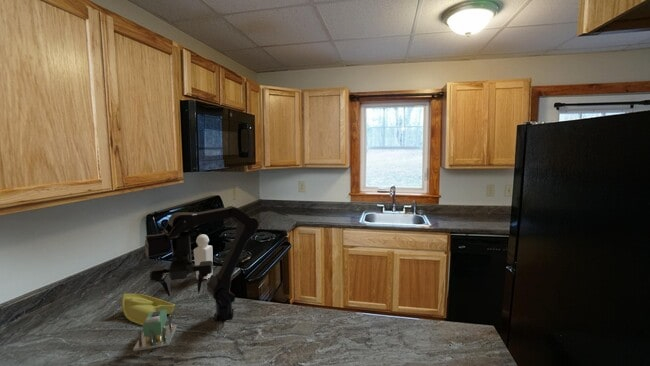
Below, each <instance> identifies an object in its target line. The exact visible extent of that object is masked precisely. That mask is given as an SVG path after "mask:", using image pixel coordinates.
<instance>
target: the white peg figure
mask: <svg viewBox="0 0 650 366" xmlns="http://www.w3.org/2000/svg"><path fill="white" fill-rule="evenodd" d="M195 242H196V245H197V247H195V248H194V249H193V257H194V266H196V265H200V262H204V261H212V263H213V260H214V259H213V258H214V257H213V256H214V255H213V245H209V242H210V239H209V236H208V235H207V234H204V233H203V234H199V235H198V236H197V237H196V240H195ZM213 264H214V263H213ZM213 270H214V269H212V273H210V274H208V275H207V276H205V277H204V278H203V279H207V280H209V279H210V277H211V275H214V271H213ZM198 275H199V271H195V277H196V280H198ZM208 278H209V279H208Z"/></svg>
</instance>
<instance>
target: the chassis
mask: <svg viewBox="0 0 650 366" xmlns="http://www.w3.org/2000/svg"><path fill="white" fill-rule="evenodd" d="M172 323H173V321H172V314H168V325H167V323H166V324H165V327H163V331H162V334H157V335H152V331H149V336H146V337H144V332H142V330H138V331H137V337H138V340H137V342H136V343H135V345H134V347H133V348H132V351H133V352H138V351H143V350H150V349H156V348H162V347H168V346H170V343H171V341H172V339H173V336H174V334H175V331H176V329H177V327H178V326H177V324H172Z"/></svg>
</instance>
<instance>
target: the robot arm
mask: <svg viewBox="0 0 650 366" xmlns="http://www.w3.org/2000/svg"><path fill="white" fill-rule="evenodd" d="M228 219H231V220H232V221H234V222H235V223H236V227H235V237H234V239H233V241H232V243H231V245H230V247H229V250H228V252H227V253H226V256H225V258H224V261H223V262H222V265H221V267H220V269H219V271H218V272H217V273H216V274H213V275H211V277H210V278H209V279H208V280H209V281H208V282H207V283H206V286H207V287H206V291H207V293H208V295H209V296H210V297H211V298H213V299H214V300H215V316H214V321H215V322H216V321H217V322H218V321H223V320H224V321H225V320H230V319H233V318H234V311H235V310H234V309H235V308H233V303H234V302H235V300H236V295H235V294H234V293H233V292H231V291H230V289H231V285H232V276H233V273H234V271H235V269H236V267H237V265H238V262H239V260H240V258H241V256H242V253H243V252H244V249H245V247H246V245H247V242H248V241H249V240H250V239H251V238H252V237H253V236H254V235H255V234H256V232H257V230H258V228H259V227H260V226H259V225H260V224H259V221H258V219H256V218H255V217H252V216H249V215H248V214H246V213H244V212H243V211H241V210H240V209H239V208H238V207H236V206H233V205H229V206H227V207H221V208H214V209H210V210H205V211H204V210H203V211H198V212H191V211H190V212H187V211H185V212H183V211H182V212H175V213H172V214H171V215H170V216H169V217H168V222H167V224H166V226H165V227H164V228H163V230H162V232H161V233H157V234H148V235H145V242H144V251H145V255H146V258H151V257H157V256H161V255H165V254H168V252H170V251H171V262H170V267H168V265H157V266H154V268H153V269H152V270H151V271H150V273H149V281H154V282H155V283H160V284H161V286H162V287H163V288H164V290H165V291H164V292H166V294H167V296H168V297H171V296H172V295H171V294H172V289H171V281H175V280H185V279H186V278H187V277H188V275H190V274H193V273H194V272H196V271H199V275H198V279H197V293H198V294H199V293H200V291H201V288H202V285H203V278H204V277H205V276H207V275H208V274H210V273H212V269H213V268H214V263H212V261H204V262H200V265H196V266H195V264H194V263H193V261H192V249H191V248H192V247H191V237H193V236H196V235H197V232H195V231H193V229H195V228H196V227H198V226H200V225H202V224H207V223H213V222H217V221H221V220H228ZM213 270H214V269H213Z"/></svg>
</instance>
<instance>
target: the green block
mask: <svg viewBox="0 0 650 366" xmlns="http://www.w3.org/2000/svg"><path fill="white" fill-rule="evenodd" d="M167 315H168V314H167V312H166V310H160V311H154V312H150V313H149V315H148V317H147V318H146V320H145V322H144V324H143V326H142V331H143V332H144V337H146V336H149V331H152V335H157V334H162V331H163V327H165V324H166V325H167V321H168V316H167ZM143 332H142V333H143Z"/></svg>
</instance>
